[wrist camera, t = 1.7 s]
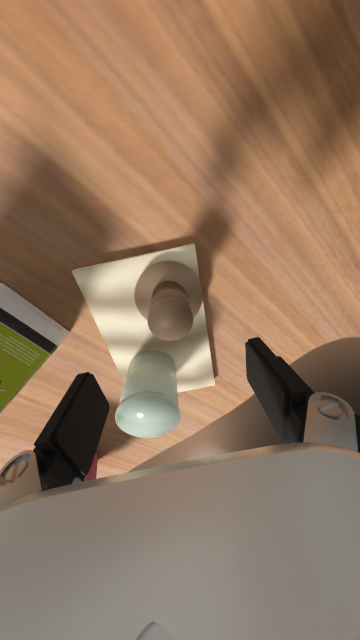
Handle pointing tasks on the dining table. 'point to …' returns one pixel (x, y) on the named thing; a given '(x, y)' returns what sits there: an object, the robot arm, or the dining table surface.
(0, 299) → the tea box
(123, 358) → the board
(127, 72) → the dining table surface
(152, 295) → the lid
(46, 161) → the dining table surface
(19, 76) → the dining table surface
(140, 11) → the dining table surface
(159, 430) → the jar
